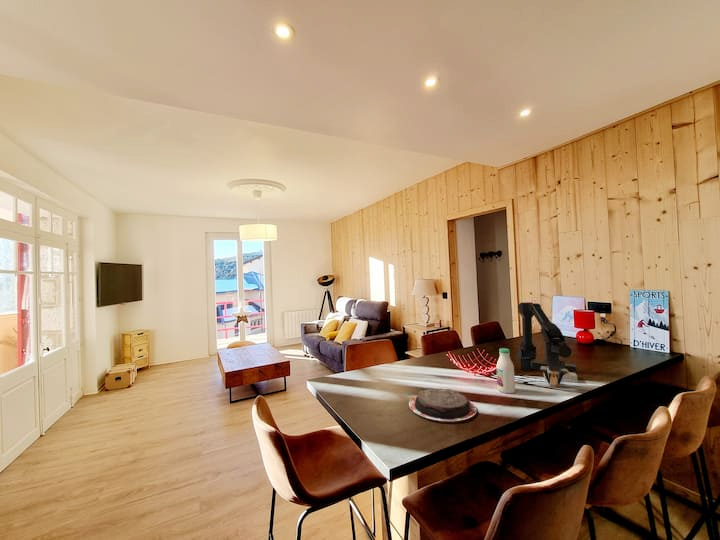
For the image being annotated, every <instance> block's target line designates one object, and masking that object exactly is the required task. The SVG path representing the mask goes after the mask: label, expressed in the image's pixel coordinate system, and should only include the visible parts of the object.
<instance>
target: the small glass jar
mask: <svg viewBox="0 0 720 540" xmlns="http://www.w3.org/2000/svg"><path fill="white" fill-rule="evenodd" d="M548 386H549V387H552V388H559V387H560V385H559V380H558V374H557V373H553V372H550V373H549V383H548Z"/></svg>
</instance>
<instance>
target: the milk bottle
mask: <svg viewBox="0 0 720 540" xmlns="http://www.w3.org/2000/svg"><path fill="white" fill-rule="evenodd" d="M498 351H499V357H498V359H497V363H496V384H497V385H496V388H497V391H499V392H501V393H502V394H503V393H505V394H515V392H516V381H515V367H514V366H515V365H514V363H513V361H512V359H511V357H510V355H511V353H510V352H511V351H510V349H509V348H505V347H504V348H503V347H500V348H499V349H498Z"/></svg>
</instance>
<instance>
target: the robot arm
mask: <svg viewBox="0 0 720 540" xmlns="http://www.w3.org/2000/svg"><path fill="white" fill-rule="evenodd" d="M517 309H518V313H519V314H520V317H522V318H521V323H522V324H521V326H522V342H521V343H520V344H519V349H518V350H517V353H516V358H517V359H518V360H519V364H520V366H519V369H520V371H527V372H534V370H539V371H540V372H542V373H543V372H544V374H545V376H546V379H547V380H546V379H545V380H546V381H547V383H548V384H549V377H548V372H547V368H549V370H550V371H557V372H559V375H558V380H559V386H560V385H561V382H562V381H561V380H562V377H563V376H564V374H567V373H568V372H567V371H569V372H571V373H576V374H577V373H578V368H577V367H576V364H575V363H573V364H572V363H566V361H565V360H561V359H560V357H561V358H565V359H566V358H567V359H568V358H569V357H571V355H572V349H571V347H570V346H568V343H567V342H566V338H565V335H564V334H563V333H562V330H561V329H560V328H559V327H558V326H557V325H556V324H555V323H553V322H551V321H550V319H549V317H548V316H547V315H546V313H545V311H544V310H543V308H542V306H541V304H540V303H534V302H532V301H531V302H519V304H518V305H517ZM533 317H535V319H536V321H537V322H538V324H539V326H540V333H541V335H542V336H543V339H542V340H543V342H544V343H545V345H544V347H545V348H544V349H545V363H544V362H541V360H537V347H536V346H535V345H534V343H533ZM544 374H543V375H544Z"/></svg>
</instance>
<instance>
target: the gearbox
mask: <svg viewBox="0 0 720 540" xmlns="http://www.w3.org/2000/svg"><path fill="white" fill-rule="evenodd" d="M547 372H548V377H549V373H550V372H553V373H557V374H558V375H559V372H557V371H550V370H549V368H547ZM567 372H568V373H567V374H564V376H563V377H562V380H561V382H564V383H565V382H566V383H574V384H578V383H579V382H578V375H577V373H571V372H569V371H567ZM542 373H543V377H544V380H546V381H547V379H546V376H545V374H544V372H543V371H542Z"/></svg>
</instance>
